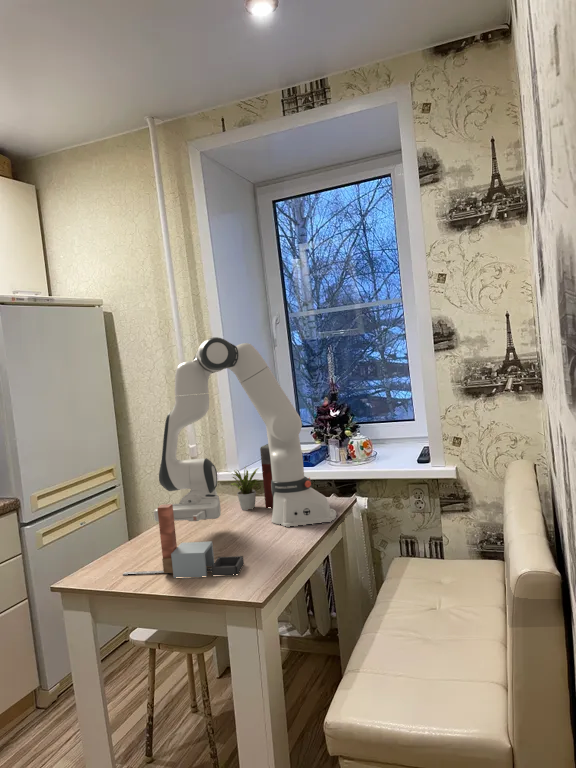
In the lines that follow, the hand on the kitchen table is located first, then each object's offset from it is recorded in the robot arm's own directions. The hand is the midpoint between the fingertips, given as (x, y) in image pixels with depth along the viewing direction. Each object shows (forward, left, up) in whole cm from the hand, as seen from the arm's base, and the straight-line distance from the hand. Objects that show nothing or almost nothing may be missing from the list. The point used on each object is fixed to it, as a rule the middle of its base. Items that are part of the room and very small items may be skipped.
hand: (180, 519), depth 176 cm
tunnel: (-7, +11, -12) cm, 17 cm away
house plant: (-8, -50, -12) cm, 52 cm away
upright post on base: (-4, +11, -11) cm, 16 cm away
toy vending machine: (-22, -53, -12) cm, 58 cm away
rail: (+1, +11, -12) cm, 16 cm away
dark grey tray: (-16, +11, -12) cm, 23 cm away
